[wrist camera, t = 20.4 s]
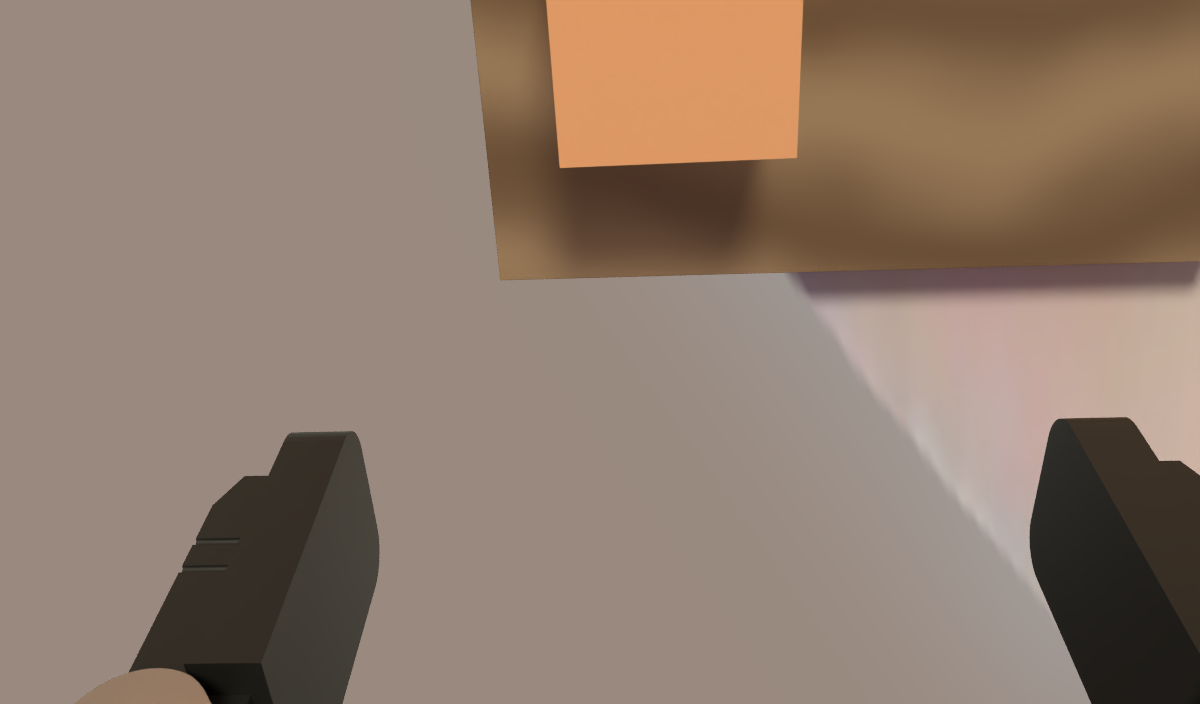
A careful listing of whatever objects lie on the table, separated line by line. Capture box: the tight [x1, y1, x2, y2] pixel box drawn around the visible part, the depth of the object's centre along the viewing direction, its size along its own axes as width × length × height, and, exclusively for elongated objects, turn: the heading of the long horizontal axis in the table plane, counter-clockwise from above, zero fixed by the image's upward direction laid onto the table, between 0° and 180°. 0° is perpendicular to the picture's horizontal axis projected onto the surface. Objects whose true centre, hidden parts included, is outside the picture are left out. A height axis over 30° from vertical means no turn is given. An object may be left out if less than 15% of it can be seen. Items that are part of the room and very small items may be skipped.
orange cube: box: [546, 0, 803, 168], centre depth 29 cm, size 6×6×6 cm
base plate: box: [471, 0, 1200, 280], centre depth 30 cm, size 18×24×6 cm
